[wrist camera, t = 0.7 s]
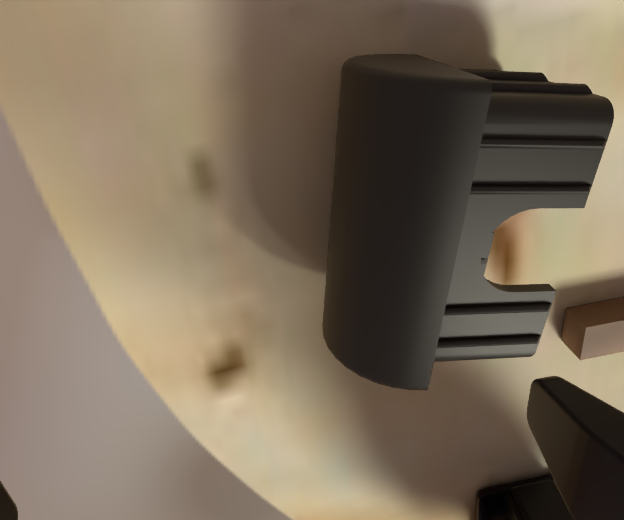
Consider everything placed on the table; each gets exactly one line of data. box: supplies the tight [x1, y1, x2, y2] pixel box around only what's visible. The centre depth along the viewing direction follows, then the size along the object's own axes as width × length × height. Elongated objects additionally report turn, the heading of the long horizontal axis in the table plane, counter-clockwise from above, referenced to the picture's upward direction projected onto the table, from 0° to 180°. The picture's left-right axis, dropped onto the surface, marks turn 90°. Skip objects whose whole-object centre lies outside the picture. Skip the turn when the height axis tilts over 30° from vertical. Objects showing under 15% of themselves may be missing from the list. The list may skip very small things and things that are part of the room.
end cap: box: [323, 54, 614, 390], centre depth 17 cm, size 10×7×7 cm
